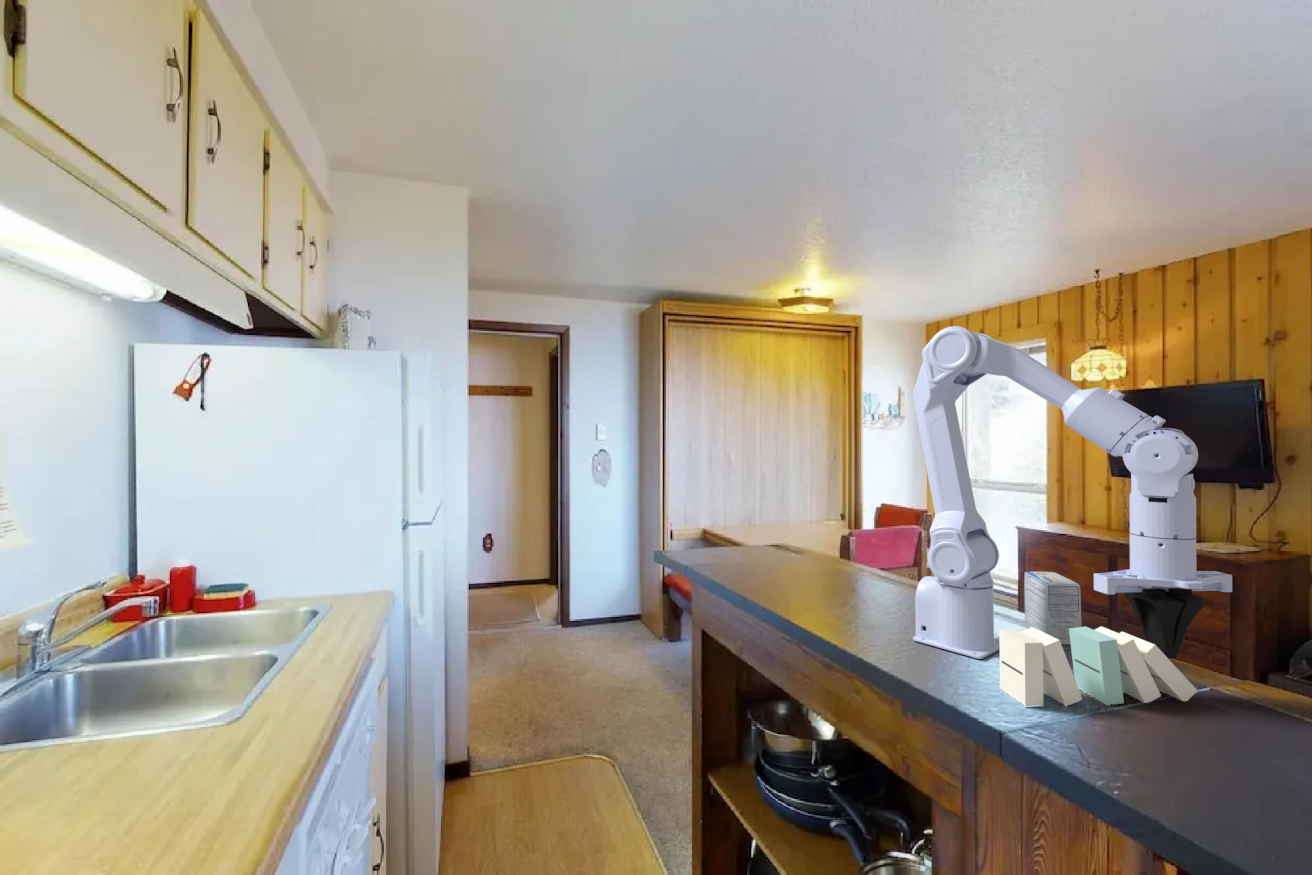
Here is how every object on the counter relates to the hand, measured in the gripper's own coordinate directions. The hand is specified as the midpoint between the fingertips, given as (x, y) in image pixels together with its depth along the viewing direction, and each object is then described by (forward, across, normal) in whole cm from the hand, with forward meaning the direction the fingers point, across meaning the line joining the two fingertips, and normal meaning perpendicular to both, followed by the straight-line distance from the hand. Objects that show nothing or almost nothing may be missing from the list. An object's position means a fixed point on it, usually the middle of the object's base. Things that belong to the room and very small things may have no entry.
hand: (1162, 655), depth 66 cm
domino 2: (+4, -12, 0) cm, 13 cm away
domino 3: (+4, -8, 0) cm, 9 cm away
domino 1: (+4, -16, 0) cm, 17 cm away
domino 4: (+4, -3, 0) cm, 5 cm away
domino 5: (+4, +1, 0) cm, 4 cm away
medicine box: (+5, +1, +19) cm, 20 cm away
